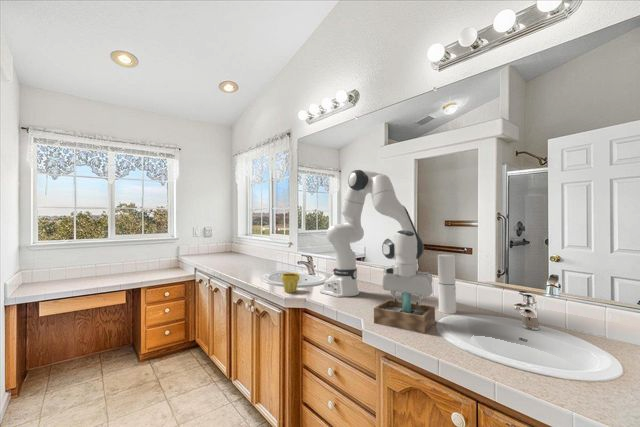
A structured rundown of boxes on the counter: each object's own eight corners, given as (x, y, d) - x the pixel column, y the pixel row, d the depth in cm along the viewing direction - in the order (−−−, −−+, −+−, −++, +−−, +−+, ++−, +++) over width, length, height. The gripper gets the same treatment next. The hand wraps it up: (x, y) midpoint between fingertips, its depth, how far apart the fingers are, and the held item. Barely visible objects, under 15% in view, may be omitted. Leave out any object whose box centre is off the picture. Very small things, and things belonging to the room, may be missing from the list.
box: (373, 322, 122) (373, 307, 122) (388, 312, 134) (388, 299, 134) (424, 333, 110) (423, 316, 110) (435, 321, 122) (434, 306, 122)
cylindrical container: (435, 310, 137) (434, 255, 137) (447, 308, 140) (446, 254, 140) (447, 314, 131) (446, 256, 131) (459, 312, 133) (458, 255, 134)
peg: (404, 318, 127) (403, 289, 127) (412, 319, 125) (412, 290, 125) (401, 320, 124) (400, 291, 124) (409, 322, 122) (409, 292, 122)
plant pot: (303, 291, 175) (302, 274, 175) (288, 294, 168) (288, 277, 168) (292, 288, 183) (292, 272, 183) (278, 291, 176) (278, 274, 176)
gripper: (434, 271, 121) (434, 305, 121) (386, 266, 133) (386, 298, 133) (429, 273, 116) (430, 309, 116) (380, 268, 128) (381, 301, 128)
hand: (406, 303), depth 125 cm, fingers open, 8 cm apart
